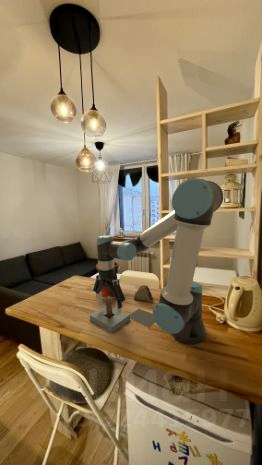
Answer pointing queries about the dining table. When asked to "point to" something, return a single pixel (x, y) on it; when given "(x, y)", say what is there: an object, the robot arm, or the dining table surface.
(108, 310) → the peg
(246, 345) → the dining table surface
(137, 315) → the mat
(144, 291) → the rock
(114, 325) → the block
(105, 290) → the vessel
